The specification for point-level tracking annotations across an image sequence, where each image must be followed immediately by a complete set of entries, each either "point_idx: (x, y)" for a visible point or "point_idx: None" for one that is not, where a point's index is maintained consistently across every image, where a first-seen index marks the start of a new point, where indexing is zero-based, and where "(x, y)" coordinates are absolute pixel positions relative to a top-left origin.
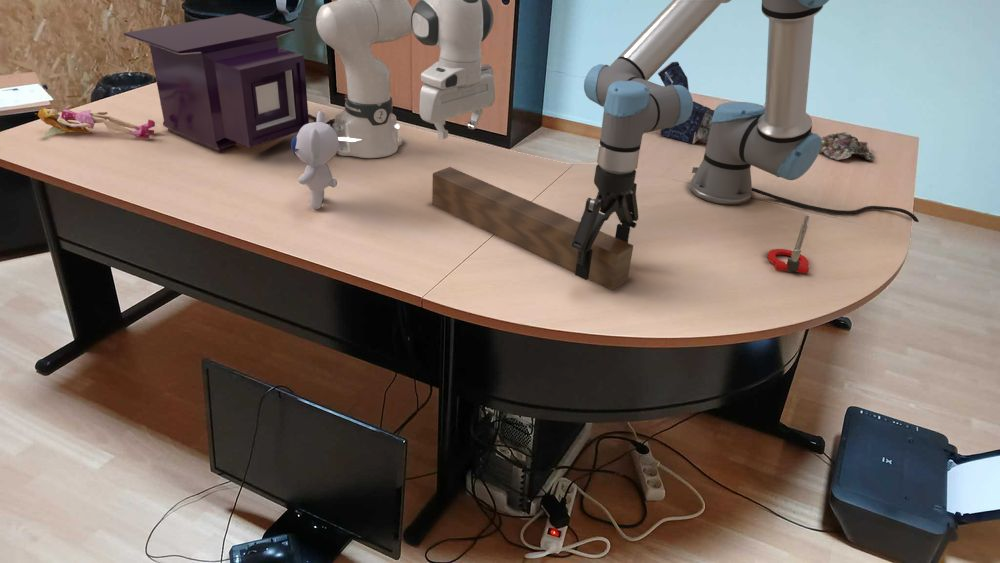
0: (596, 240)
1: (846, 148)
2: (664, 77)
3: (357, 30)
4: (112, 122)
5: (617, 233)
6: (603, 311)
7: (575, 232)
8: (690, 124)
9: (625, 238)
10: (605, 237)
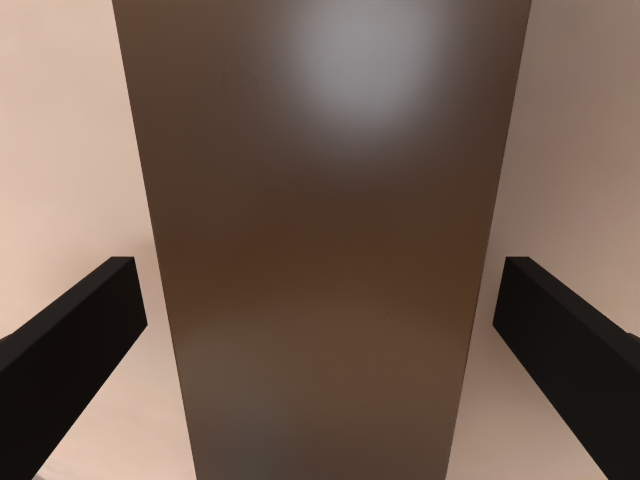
0: (263, 380)
1: None
2: None
3: None
4: None
5: (601, 358)
6: (115, 408)
7: (214, 118)
8: None
9: (569, 414)
10: (385, 400)
